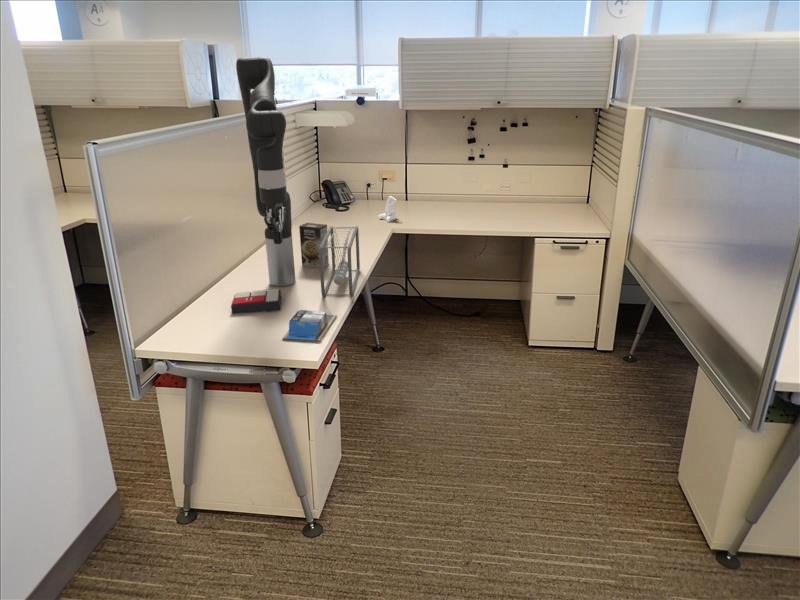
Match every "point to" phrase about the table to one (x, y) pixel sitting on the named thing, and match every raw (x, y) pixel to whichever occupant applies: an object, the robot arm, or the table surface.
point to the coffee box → (313, 244)
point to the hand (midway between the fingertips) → (278, 243)
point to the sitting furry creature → (389, 210)
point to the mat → (329, 322)
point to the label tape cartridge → (307, 324)
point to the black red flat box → (257, 301)
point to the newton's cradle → (343, 265)
